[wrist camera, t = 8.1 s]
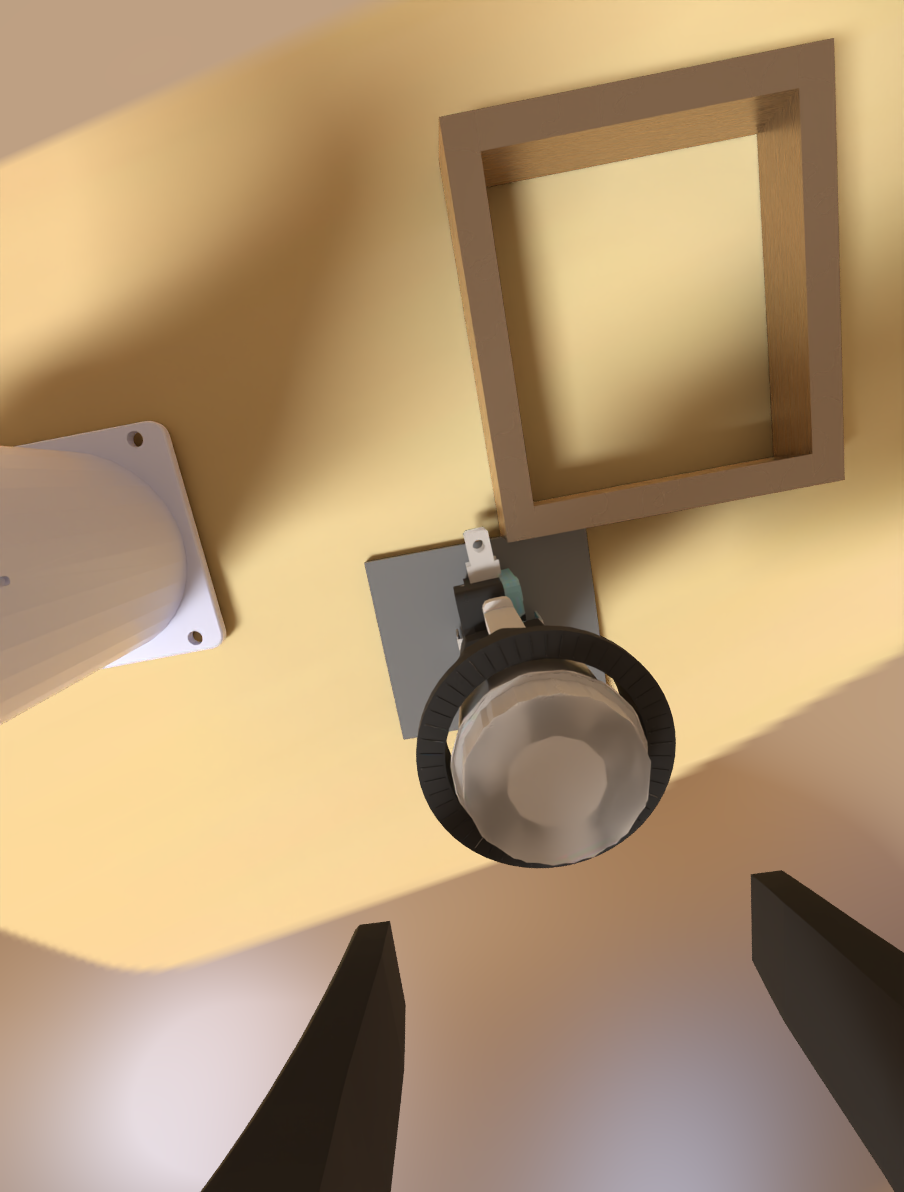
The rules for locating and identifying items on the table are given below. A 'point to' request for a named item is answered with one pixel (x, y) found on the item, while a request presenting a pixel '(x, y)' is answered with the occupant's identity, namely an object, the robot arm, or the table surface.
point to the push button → (539, 732)
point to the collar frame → (790, 249)
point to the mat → (430, 616)
